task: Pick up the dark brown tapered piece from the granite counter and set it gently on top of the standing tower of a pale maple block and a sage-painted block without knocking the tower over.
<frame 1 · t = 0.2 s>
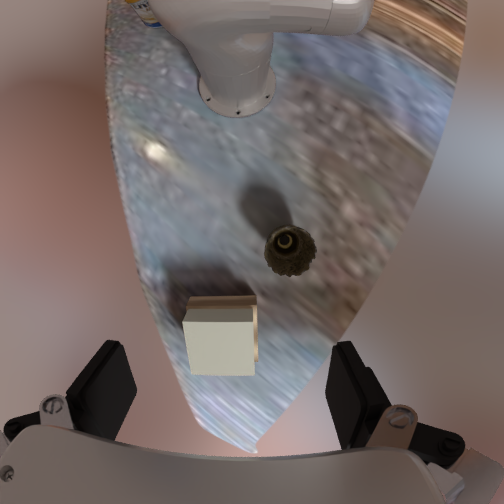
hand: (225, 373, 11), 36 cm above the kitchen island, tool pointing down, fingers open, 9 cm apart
dark brown tapered piece: (284, 239, 46), on the kitchen island
beverage bottle: (163, 14, 34), on the kitchen island
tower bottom: (225, 323, 51), on the kitchen island
tower top: (222, 336, 46), point 4 cm above the kitchen island
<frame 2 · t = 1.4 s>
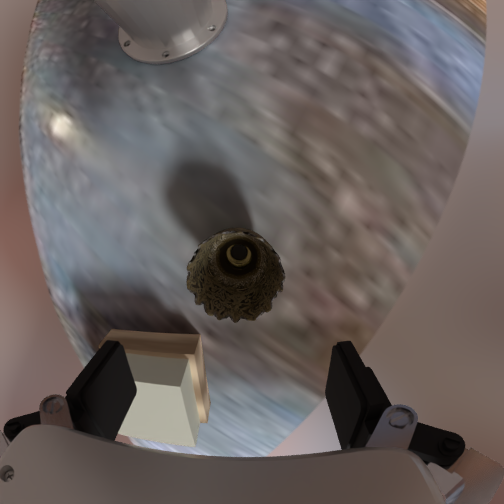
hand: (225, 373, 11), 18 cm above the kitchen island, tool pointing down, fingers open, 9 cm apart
dark brown tapered piece: (239, 251, 28), on the kitchen island
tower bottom: (162, 367, 33), on the kitchen island, touching tower top
tower top: (151, 389, 28), point 4 cm above the kitchen island, touching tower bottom
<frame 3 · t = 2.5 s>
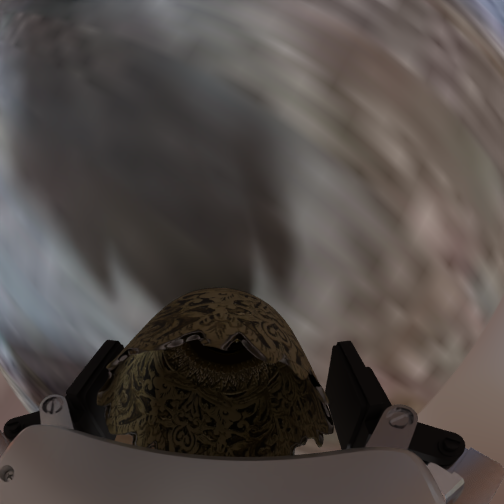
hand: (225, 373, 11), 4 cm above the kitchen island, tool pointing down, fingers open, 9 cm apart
dark brown tapered piece: (227, 315, 15), on the kitchen island
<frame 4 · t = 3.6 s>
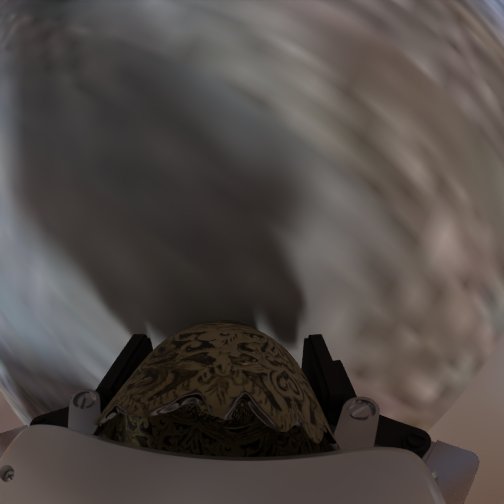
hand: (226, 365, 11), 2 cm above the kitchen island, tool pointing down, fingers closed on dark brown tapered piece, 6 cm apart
dark brown tapered piece: (229, 344, 13), on the kitchen island, touching gripper
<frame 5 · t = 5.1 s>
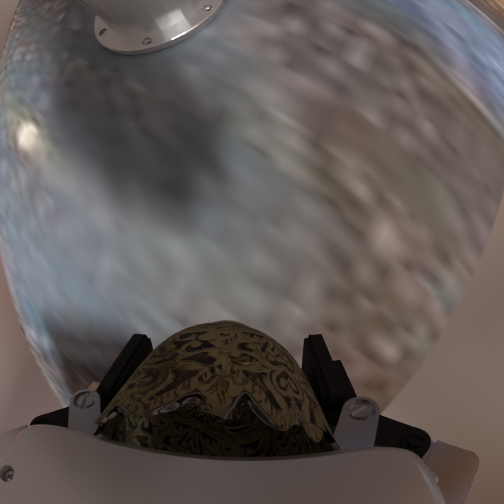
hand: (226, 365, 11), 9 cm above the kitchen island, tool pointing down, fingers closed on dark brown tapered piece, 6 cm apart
dark brown tapered piece: (229, 344, 13), point 8 cm above the kitchen island, touching gripper
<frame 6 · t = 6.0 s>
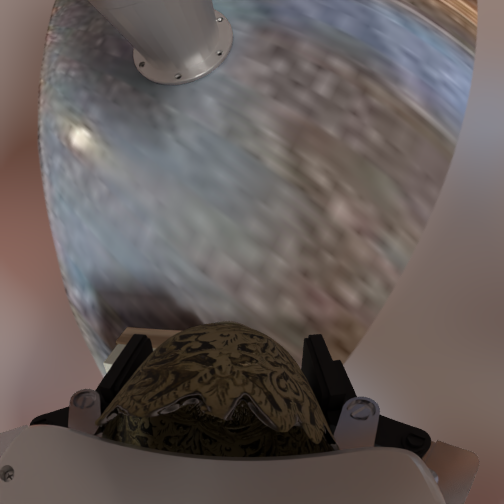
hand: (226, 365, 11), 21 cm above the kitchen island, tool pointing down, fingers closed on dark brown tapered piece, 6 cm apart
dark brown tapered piece: (229, 344, 13), point 19 cm above the kitchen island, touching gripper
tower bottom: (173, 363, 36), on the kitchen island
when the fingers open (11 cm above the kitchen island, at t = 11.2 s): dark brown tapered piece drops 1 cm, resting on tower top.
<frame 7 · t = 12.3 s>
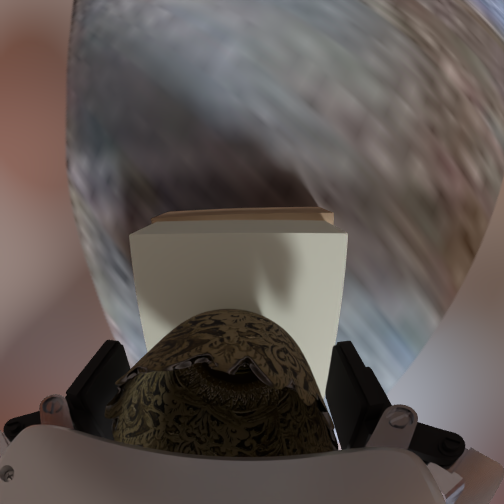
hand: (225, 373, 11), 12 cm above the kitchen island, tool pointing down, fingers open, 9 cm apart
dark brown tapered piece: (240, 334, 14), point 8 cm above the kitchen island, touching tower top
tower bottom: (245, 279, 23), on the kitchen island, touching tower top
tower top: (241, 300, 19), point 4 cm above the kitchen island, touching dark brown tapered piece, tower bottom
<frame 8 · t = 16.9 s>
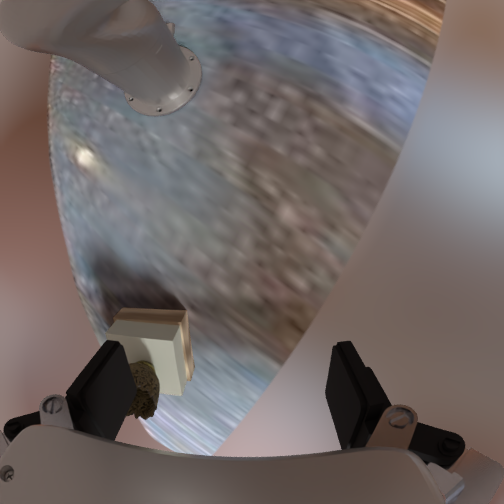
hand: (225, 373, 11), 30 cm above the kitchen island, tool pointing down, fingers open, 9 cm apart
dark brown tapered piece: (146, 367, 37), point 8 cm above the kitchen island, touching tower top
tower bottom: (159, 337, 45), on the kitchen island, touching tower top
tower top: (152, 350, 41), point 4 cm above the kitchen island, touching dark brown tapered piece, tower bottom
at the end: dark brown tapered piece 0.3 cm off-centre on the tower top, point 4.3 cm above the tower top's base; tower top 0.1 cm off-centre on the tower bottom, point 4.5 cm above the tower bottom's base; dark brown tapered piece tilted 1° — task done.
